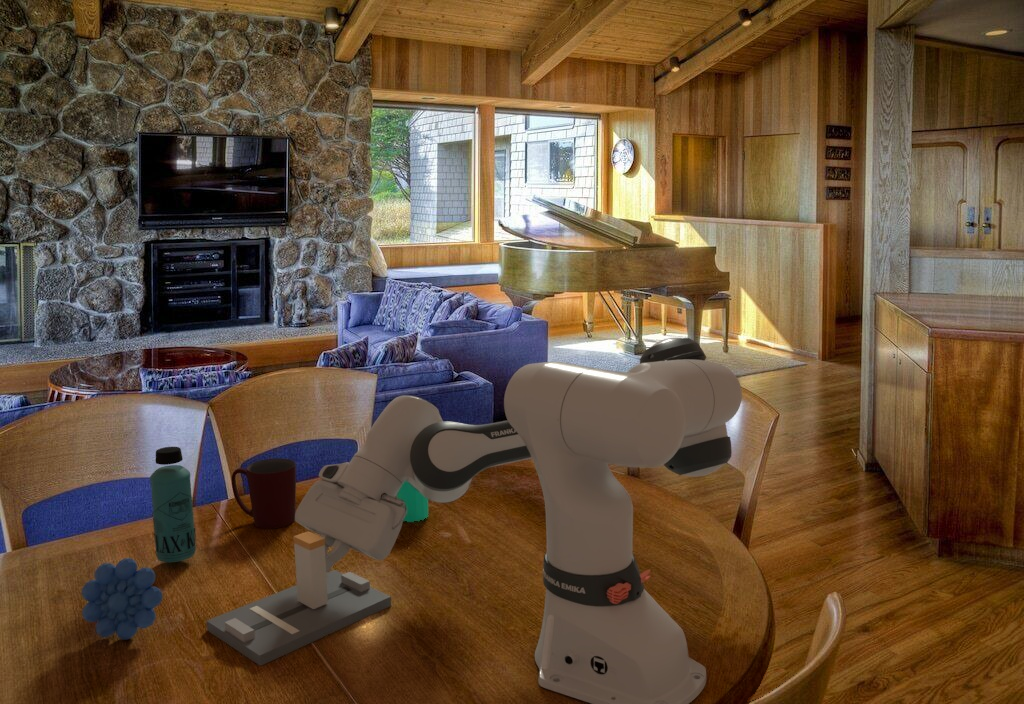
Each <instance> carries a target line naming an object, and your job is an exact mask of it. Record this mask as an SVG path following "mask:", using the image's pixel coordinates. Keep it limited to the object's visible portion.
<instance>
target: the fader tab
mask: <svg viewBox="0 0 1024 704" xmlns="http://www.w3.org/2000/svg"><path fill="white" fill-rule="evenodd" d="M292 539H293V546H294V562H295V577H296V585H297V596H298V601H299V602H301V603H303V604H304V605H306V606H308V607H310V608H312V609H316V608H318V607H320V606H323V605H325V604H327V603H328V596H327V578H326V573H327V572H326V560H325V538H323V537H321V536H319V534H317V533H315V532H314V533H313V531H310V530H307V531H305V532H302V533H300V534H296V535H294V536H293V538H292Z"/></svg>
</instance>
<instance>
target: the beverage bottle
mask: <svg viewBox="0 0 1024 704" xmlns="http://www.w3.org/2000/svg"><path fill="white" fill-rule="evenodd" d="M183 460H184V459H183V454H182V450H181V447H179V446H165V447H161V448H158V449H156V451H155V459H154V461H155V463H156V464H157V465H159V466H160V465H161V467H158V468H156V469H155V471H153V473H151V475H150V476H149V482H150V488H151V491H150V492H151V502H152V504H151V505H152V513H151V515H152V525H153V526H152V527H153V532H152V533H153V537H154V539H153V540H154V548H155V557H156V558H157V560H158V561H160V562H162V563H177V562H183V561H185V560H187V559H190V558H192V557H193V556H194V555H195V554H196V550H197V548H198V547H197V545H196V544H197V541H196V540H197V536H196V527H195V522H196V521H195V520H194V519H195V518H194V506H193V502H194V500H193V497H192V488H191V487H192V486H191V485H192V484H191V482H192V481H191V472H190V470H188V469H187V468H186V467H184V466H182V465H180V464H178V463H180V462H182V461H183ZM163 465H164V466H163Z"/></svg>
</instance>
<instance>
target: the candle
mask: <svg viewBox="0 0 1024 704" xmlns="http://www.w3.org/2000/svg"><path fill="white" fill-rule="evenodd" d="M396 498H397V499H401V500H403V501H404V502H405V505H406V508H407V514H406V516H405V518H404V520H403V522H405V521H407V522H406V523H415V522H414V521H418V522H421V521H420V520H422V521H425V520H426V519H428V518H429V515H428V514H429V512H430V511H429V499H427V498H426V497H424V496H423V495H422V494H421V493H420V492H419V491H417V490H416V489H415V488H414V487H413V486H412V485H410V484H409V483H408V482H407V481H405V482H404V483H403V485H402V486H401V488H400V490H399V491H398V493H397V495H396ZM402 508H404V507H402ZM427 517H428V518H427ZM425 518H426V519H425ZM424 519H425V520H424Z"/></svg>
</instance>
